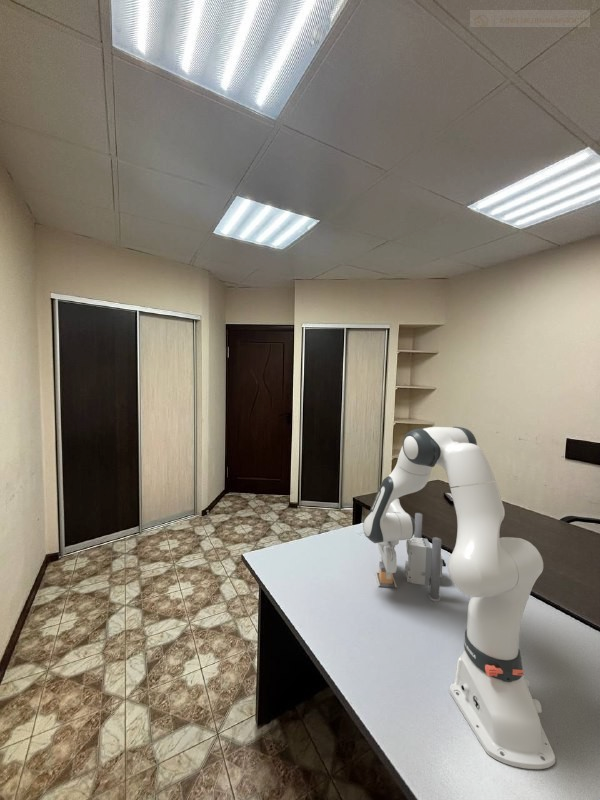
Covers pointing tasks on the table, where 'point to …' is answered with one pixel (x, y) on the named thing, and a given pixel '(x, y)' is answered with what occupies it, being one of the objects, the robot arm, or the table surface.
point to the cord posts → (435, 559)
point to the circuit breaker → (419, 561)
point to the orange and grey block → (384, 574)
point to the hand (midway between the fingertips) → (385, 570)
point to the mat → (385, 585)
